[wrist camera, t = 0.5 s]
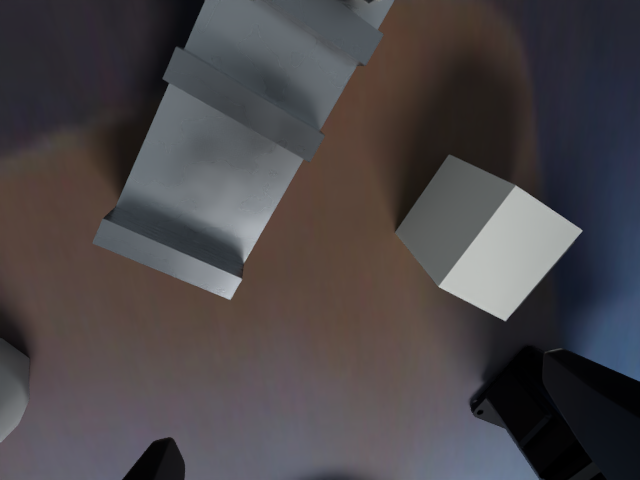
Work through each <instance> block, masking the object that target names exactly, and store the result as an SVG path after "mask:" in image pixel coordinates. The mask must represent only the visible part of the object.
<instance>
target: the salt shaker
mask: <svg viewBox="0 0 640 480" xmlns="http://www.w3.org/2000/svg"><path fill="white" fill-rule="evenodd" d="M29 364H30V358H28V357H27V356H26V355H24V354H23V353H21V352H20V351H19V350H17V349H16V348H15V347H13V346H12V345H10V344H9V343H8V342H6V341H5V340H4V339H2V338H0V443H1V442H2V441H3V440H4V439H5V438H6V437H7V436H8V434H9V433H10V432H11V431H12V430H13V429H14V428H15V427H16V426H17V425H18V424H19V422H20V420H21V418H22V416H23V414H24V411H25V409H26V406H27V404H28V402H29V399H30V393H29Z"/></svg>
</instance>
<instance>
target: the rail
mask: <svg viewBox="0 0 640 480" xmlns="http://www.w3.org/2000/svg"><path fill="white" fill-rule="evenodd" d="M393 2H394V0H205V2H204V4H203V7H202V9H201V11H200V14H199V16H198V18H197V20H196V23H195V25H194V27H193V30H192V32H191V34H190V37H189V39H188V41H187V44H186V46H185V48H181V47H177V46H176V48H175V51H174V53H173V55H172V58H171V60H170V63H169V65H168V67H167V70H166V72H165V74H164V77H163V80H165V81H167V82H169V85H168V87H167V90H166V92H165V94H164V97H163V99H162V101H161V104H160V106H159V108H158V110H157V113H156V115H155V117H154V120H153V122H152V124H151V127H150V129H149V131H148V134H147V136H146V138H145V140H144V143H143V145H142V147H141V150H140V152H139V154H138V157H137V159H136V161H135V164H134V166H133V168H132V170H131V173H130V175H129V177H128V180H127V182H126V184H125V187H124V189H123V191H122V194H121V196H120V198H119V200H118V203H117V205H116V207H115V208H114V209H113V210H111V211H110V212H109V213H108V214H107V215H106V216H105V217H104V218H103V220H102V222H101V224H100V227H99V229H98V231H97V234H96V236H95V238H94V241H93V244H96V245H98V246H100V247H103V248H105V249H108V250H110V251H113V252H115V253H117V254H120V255H122V256H125V257H127V258H130V259H132V260H134V261H137V262H139V263H142V264H144V265H147V266H149V267H151V268H154V269H156V270H159V271H161V272H164V273H166V274H169V275H171V276H173V277H176V278H178V279H181V280H183V281H186V282H188V283H190V284H193V285H195V286H198V287H200V288H203V289H205V290H207V291H210V292H212V293H215V294H217V295H220V296H222V297H224V298H227V299H229V300H230V299H231V297H232V296H233V294H234V292H235V290H236V289H237V287H238V285H239V283H240V282H241V280H242V276H243V266H244V262H245V260H246V259H247V257H248V255H249V253H250V252H251V250H252V248H253V246H254V245H255V243H256V241H257V239H258V238H259V236H260V234H261V232H262V231H263V229H264V227H265V225H266V224H267V222H268V220H269V218H270V217H271V215H272V213H273V211H274V210H275V208H276V206H277V204H278V203H279V201H280V199H281V197H282V196H283V194H284V192H285V190H286V189H287V187H288V185H289V183H290V182H291V180H292V178H293V176H294V175H295V173H296V171H297V169H298V168H299V166H300V164H301V162H302V161H303V159H304V160H306V161H308V162H310V161H311V159H312V157H313V156H314V154H315V152H316V150H317V149H318V147H319V145H320V144H321V142H322V140H323V138H324V137H325V135H324V134H323V133H322V132H321V131H320V129H321V127H322V126H323V124H324V122H325V120H326V119H327V117H328V115H329V113H330V112H331V110H332V108H333V106H334V105H335V103H336V101H337V99H338V98H339V96H340V94H341V92H342V91H343V89H344V87H345V86H346V84H347V82H348V80H349V79H350V77H351V75H352V73H353V72H354V70H355V68H356V66H366V64H367V62H368V61H369V59H370V57H371V55H372V54H373V52H374V50H375V48H376V47H377V45H378V43H379V42H380V40H381V38H382V36H383V35H384V34H382V33H381V32H380V31H378V28H379V26H380V24H381V23H382V21H383V19H384V17H385V16H386V14H387V12H388V10H389V9H390V7H391V5H392V3H393Z"/></svg>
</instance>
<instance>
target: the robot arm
mask: <svg viewBox="0 0 640 480" xmlns="http://www.w3.org/2000/svg"><path fill="white" fill-rule="evenodd" d="M471 412H472V413H473V415H474V416H475V417H477V418H479V419H482V420H484V421H487V422H490V423H492V424H495V425H497V426H500V427H502V428H505V429H506V430H507V432H508V433H509V435H510V436H511V438H512V439H513V441H514V442H515V444H516V445H517V447H518V448H519V450H520V451H521V453H522V454H523V456H524V457H525V459H526V460H527V462H528V463H529V465H530V466H531V468H532V469H533V471H534V472H535V474H536V475H537V477H538V478H539V480H640V382H639V381H637V380H635V379H633V378H630V377H628V376H626V375H623V374H621V373H619V372H616V371H614V370H612V369H610V368H607V367H605V366H603V365H600V364H598V363H596V362H594V361H591V360H589V359H587V358H584V357H582V356H580V355H577V354H575V353H573V352H571V351H568V350H566V349H562V348H559V349H555V350H550V351H547V352H543V351H541V350H539V349H537V348H535V347H533V346H527V347H525V348H524V349H523V350H522V351H521V352H520V353H519V354H518V355H517V356H516V358H515V359H514V360H513V361H512V362H511V363H510V364H509V365H508V366H507V368H506V369H505V370H504V371H503V372H502V373H501V374H500V375H499V377H498V378H497V379H496V380H495V381H494V382H493V383H492V384H491V385H490V387H489V388H488V389H487V390H486V391H485V392H484V393H483V394H482V395H481V397H480V398H479V399H478V400H477V401H476V402H475V403H474V404H473V406H472V407H471ZM184 478H185V463H184V460H183V458H182V455H181V453H180V451H179V449H178V447H177V445H176V443H175V441H174V439H173V438H171V437H168V438H164V439H159V440H156V441H154V442H153V443H151V445H150V446H149V447H148V448H147V450H146V451H145V452H144V453H143V454H142V456H141V457H140V458H139V459H138V461H137V462H136V463H135V464H134V466H133V467H132V468H131V469H130V471H129V472H128V473H127V474H126V476H125V477H124V478H123V479H122V480H184Z"/></svg>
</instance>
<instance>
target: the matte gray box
mask: <svg viewBox="0 0 640 480" xmlns="http://www.w3.org/2000/svg"><path fill="white" fill-rule="evenodd" d="M582 231H583V230H581V229H580V228H578V227H577V226H575V225H574V224H572V223H571V222H569V221H568V220H566V219H565V218H563V217H562V216H561V215H559V214H558V213H556V212H555V211H553V210H552V209H550V208H549V207H547V206H546V205H544V204H543V203H541V202H540V201H538V200H537V199H535V198H534V197H532V196H531V195H529V194H528V193H526V192H525V191H523V190H522V189H520V188H519V187H517V186H516V185H514V184H512V183H510V182H508V181H505V180H503V179H501V178H499V177H497V176H495V175H493V174H490V173H488V172H486V171H484V170H482V169H480V168H478V167H475V166H473V165H471V164H469V163H467V162H465V161H463V160H460V159H458V158H456V157H454V156H452V155H450V154H449V155H448V157H447V158H446V159H445V161H444V162H443V164H442V165H441V167H440V168H439V170H438V171H437V172H436V174H435V175H434V177H433V178H432V180H431V181H430V183H429V184H428V186H427V187H426V188H425V190H424V191H423V193H422V194H421V196H420V197H419V199H418V200H417V201H416V203H415V204H414V206H413V207H412V209H411V210H410V212H409V213H408V214H407V216H406V217H405V219H404V220H403V222H402V223H401V225H400V226H399V228H398V229H397V230H396V232H395V233H396V234H397V236H398V237H399V238H400V239H401V241H402V242H403V243H404V244H405V246H406V247H407V248H408V249H409V251H410V252H411V253H412V254H413V256H414V257H415V258H416V259H417V261H418V262H419V263H420V264H421V266H422V267H423V268H424V269H425V271H426V272H427V273H428V274H429V276H430V277H431V278H432V280H433V281H434V282H435V283H436V285H437V286H438V287H440V288H442V289H444V290H446V291H447V292H449V293H451V294H453V295H455V296H457V297H459V298H461V299H463V300H465V301H467V302H469V303H471V304H473V305H475V306H477V307H479V308H481V309H482V310H484V311H486V312H488V313H490V314H492V315H494V316H496V317H498V318H500V319H502V320H504V321H506V320H507V319H508V318H509V316H510V315H511V314H512V313H513V312H514V311H516V310H517V309H518V308H519V307H520V305H521V304H522V303H523V302H524V301H525V300H526V298H527V297H528V296H529V295H530V294H531V293H532V291H533V290H534V289H535V288H536V287H537V286H538V284H539V283H540V282H541V281H542V280H543V279H544V277H545V276H546V275H547V274H548V273H549V272H550V270H551V269H552V268H553V267H554V266H555V265H556V263H557V262H558V261H559V260H560V259H561V258H562V256H563V255H564V254H565V253H566V252H567V251H568V249H569V248H570V247H571V246H572V245H573V244H574V242H575V241H574V240H575V239H576V238H577V237H578V236H579V235H580V233H581V232H582Z"/></svg>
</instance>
